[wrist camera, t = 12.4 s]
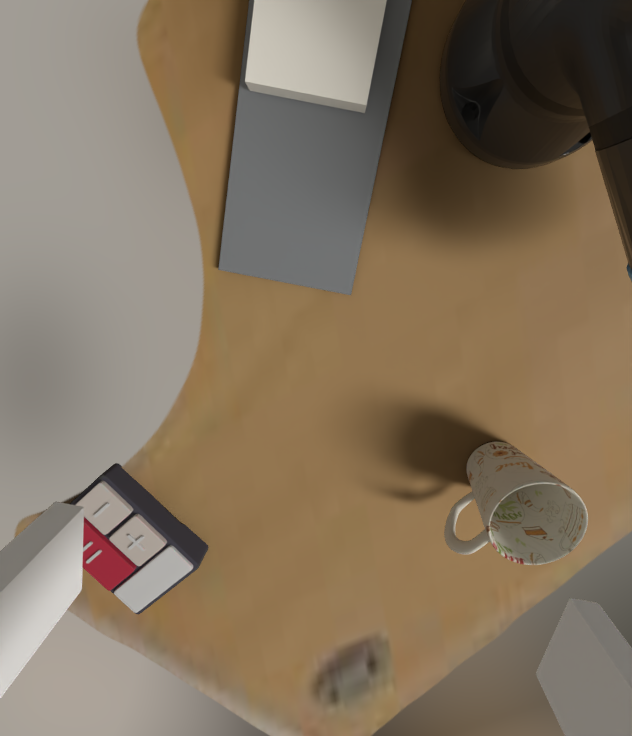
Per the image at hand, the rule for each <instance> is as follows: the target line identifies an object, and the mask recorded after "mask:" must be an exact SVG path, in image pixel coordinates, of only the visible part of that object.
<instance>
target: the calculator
mask: <svg viewBox="0 0 632 736" xmlns="http://www.w3.org/2000/svg"><path fill="white" fill-rule="evenodd" d="M121 467H122V466H121V465H120V464H118V463H115V464H114V465H113V466H111V467H110V468H109V469H108V470H106V471H105V472H104V473H103V474H102V475H101V476H99V477H98V478H97V479H96V480H95V481H94V482H93V483H92V484H91V485H90V486H89V487H88V488H86V489H85V490H84V491H83V492H82V493H81V494H80V495H79V496H78V497H77V498H76V499H75V500H73V501H72V502H71V503H70V504H71V505H76V506H82V507H84V528H83V564H82V567H83V568H84V569H85V570H86V571H87V572H88V573H89V574H90V575H91V576H93V577H94V578H95V579H96V580H97V581H98V582H99V583H100V584H101V585H102V586H104V587H105V588H106V589H107V590H109V591H111V592H112V593H113V594H114V595H116V596H117V597H118V598H119V599H120V600H121V601H122V602H123V603H124V604H125V605H127V606H128V607H129V608H130V609H131V610H132V611H133V612H134V613H136V614H140V613H142V612H143V611H144V610H145V609H147V608H148V607H149V606H151V605H152V604H153V603H154V602H156V601H157V600H158V599H160V598H161V597H162V596H163V595H165V594H166V593H167V592H168V591H170V590H171V589H172V588H174V587H175V586H176V585H177V584H179V583H180V582H181V581H183V580H184V579H185V578H186V577H188V576H189V575H190V574H191V573H193V572H194V571H195V570H197V569H198V568H199V566H200V564H201V562H202V560H203V558H204V556H205V554H206V552H207V550H208V545H207V544H206V543H205V542H204V541H202V540H201V539H200V538H199V537H198V536H197V535H196V534H195V533H193V532H192V531H191V530H190V529H189V528H188V527H187V526H186V525H184V524H181V523H180V522H179V521H178V520H177V519H176V518H175V517H174V516H173V515H172V514H171V513H170V512H169V511H168V510H167V509H166V508H164V507H163V506H162V505H161V504H160V503H159V502H158V501H157V500H156V499H155V498H154V497H153V496H152V495H151V494H150V493H149V492H148V491H147V490H146V489H144V488H143V487H142V486H141V485H140V484H139V483H138V482H137V481H136V480H134V479H133V478H132V477H131V476H130V475H129V474H128V473H127V472H126V471H124V470H123V469H122V468H121Z"/></svg>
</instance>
